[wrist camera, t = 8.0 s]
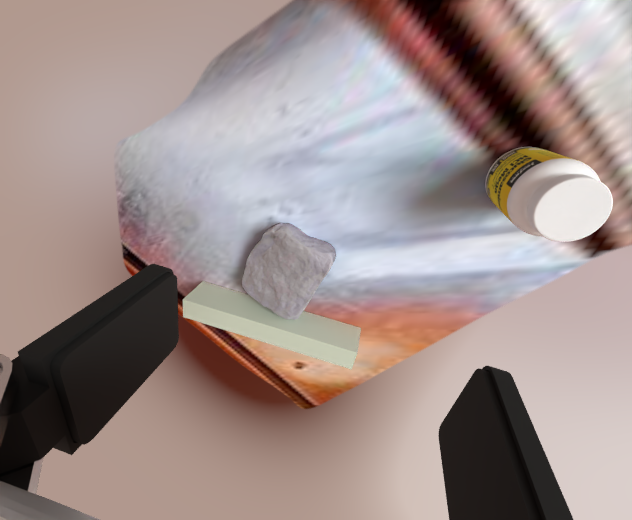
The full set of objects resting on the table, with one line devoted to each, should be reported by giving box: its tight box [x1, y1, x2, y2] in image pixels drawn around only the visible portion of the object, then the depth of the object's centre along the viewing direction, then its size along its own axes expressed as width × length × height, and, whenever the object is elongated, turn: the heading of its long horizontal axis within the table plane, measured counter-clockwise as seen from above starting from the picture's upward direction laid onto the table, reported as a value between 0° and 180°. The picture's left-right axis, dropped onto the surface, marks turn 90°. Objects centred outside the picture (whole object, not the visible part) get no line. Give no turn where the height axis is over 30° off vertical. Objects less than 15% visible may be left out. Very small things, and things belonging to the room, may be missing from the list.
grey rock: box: [242, 223, 336, 320], centre depth 41 cm, size 12×5×10 cm
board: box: [183, 281, 361, 369], centre depth 43 cm, size 3×24×5 cm, turn 79°
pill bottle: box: [485, 147, 613, 242], centre depth 26 cm, size 6×6×11 cm
